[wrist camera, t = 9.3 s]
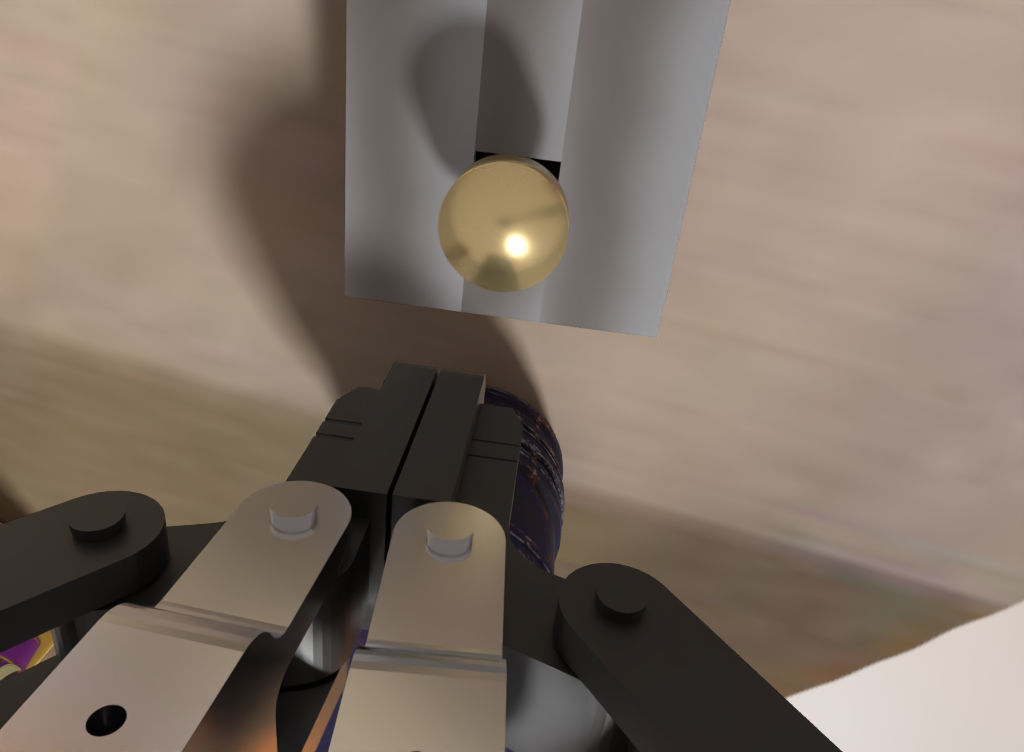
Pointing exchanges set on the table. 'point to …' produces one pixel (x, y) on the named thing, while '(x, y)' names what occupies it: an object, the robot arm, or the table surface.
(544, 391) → the table surface
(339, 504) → the robot arm
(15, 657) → the candy box
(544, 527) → the storage jar
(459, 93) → the mount
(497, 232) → the knob
